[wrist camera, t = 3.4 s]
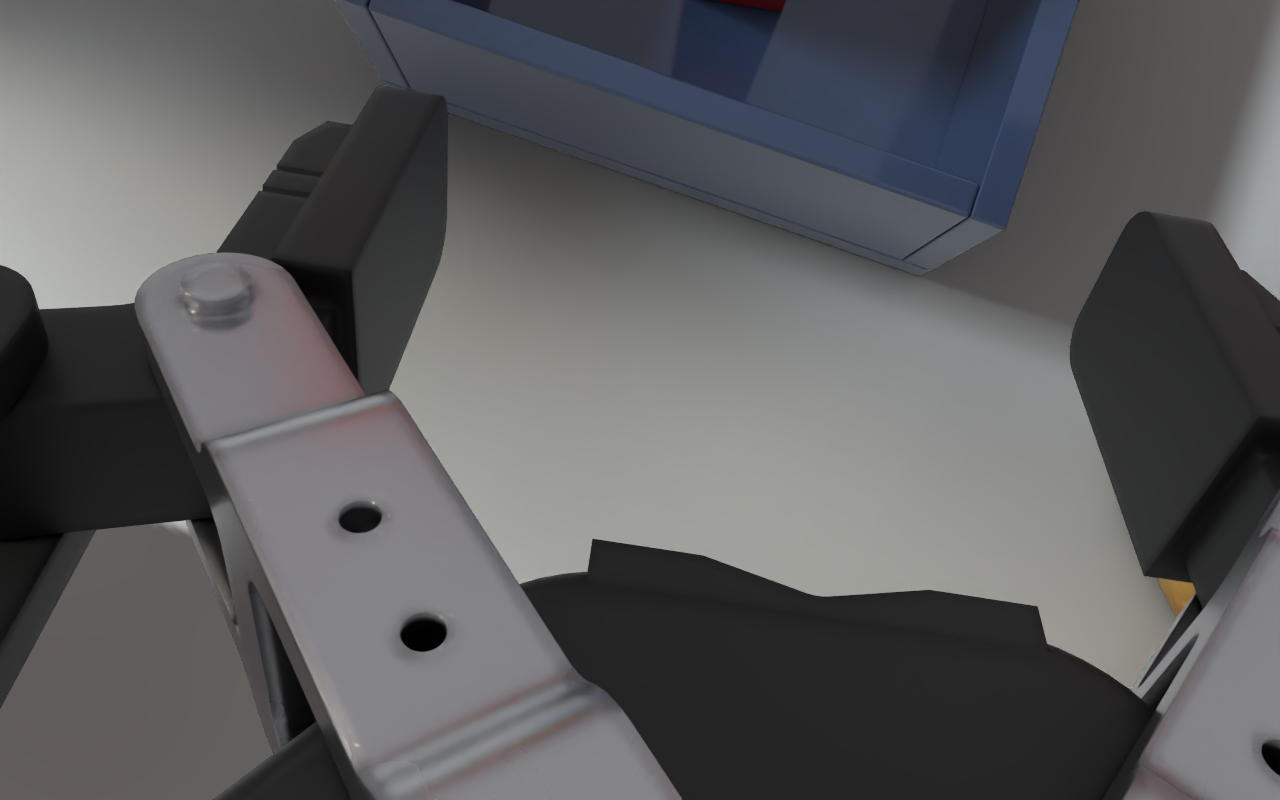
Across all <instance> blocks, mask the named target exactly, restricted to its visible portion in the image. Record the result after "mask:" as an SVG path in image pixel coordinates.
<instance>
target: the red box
mask: <svg viewBox="0 0 1280 800" xmlns="http://www.w3.org/2000/svg"><path fill="white" fill-rule="evenodd" d="M713 1H719V2H725V3H731V4H737V5H743V6H749V7H755V8H760V9H766V10H772V11H778V12H781V11H782V10H783V8H784V6H785V3H786V1H787V0H713Z"/></svg>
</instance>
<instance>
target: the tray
mask: <svg viewBox="0 0 1280 800" xmlns="http://www.w3.org/2000/svg"><path fill="white" fill-rule="evenodd" d="M334 1H335V2H336V4H337V6H338V8H339V9H340V11H341V13H342V14H343V16H344V18H345V19H346V21H347V23H348V24H349V26H350V28H351V29H352V31H353V33H354V34H355V36H356V38H357V40H358V41H359V43H360V45H361V46H362V48H363V50H364V51H365V53H366V55H367V56H368V58H369V60H370V61H371V63H372V65H373V66H374V68H375V70H376V72H377V73H378V75H379V77H380V78H381V79H382V81H383V82H384V84H385V86H386V87H392V88H398V89H404V90H410V91H416V92H422V93H429V94H435V95H441V96H444V97H445V99H446V103H447V111H448V113H450V114H453V115H456V116H459V117H462V118H465V119H468V120H470V121H473V122H476V123H479V124H482V125H485V126H488V127H491V128H493V129H496V130H499V131H502V132H505V133H508V134H511V135H514V136H517V137H519V138H522V139H525V140H528V141H531V142H534V143H537V144H540V145H543V146H545V147H548V148H551V149H554V150H557V151H560V152H563V153H566V154H568V155H571V156H574V157H577V158H580V159H583V160H586V161H589V162H592V163H594V164H597V165H600V166H603V167H606V168H609V169H612V170H615V171H617V172H620V173H623V174H626V175H629V176H632V177H635V178H638V179H641V180H643V181H646V182H649V183H652V184H655V185H658V186H661V187H664V188H667V189H669V190H672V191H675V192H678V193H681V194H684V195H687V196H690V197H692V198H695V199H698V200H701V201H704V202H707V203H710V204H713V205H716V206H718V207H721V208H724V209H727V210H730V211H733V212H736V213H739V214H742V215H744V216H747V217H750V218H753V219H756V220H759V221H762V222H765V223H767V224H770V225H773V226H776V227H779V228H782V229H785V230H788V231H791V232H793V233H796V234H799V235H802V236H805V237H808V238H811V239H814V240H816V241H819V242H822V243H825V244H828V245H831V246H834V247H837V248H840V249H842V250H845V251H848V252H851V253H854V254H857V255H860V256H863V257H866V258H868V259H871V260H874V261H877V262H880V263H883V264H886V265H889V266H891V267H894V268H897V269H900V270H903V271H906V272H909V273H912V274H915V275H917V276H921V275H923V274H924V273H926V272H928V271H930V270H933V269H935V268H937V267H938V266H940V265H942V264H944V263H946V262H947V261H949V260H951V259H953V258H955V257H956V256H958V255H960V254H962V253H964V252H965V251H967V250H969V249H971V248H973V247H974V246H976V245H978V244H980V243H982V242H983V241H985V240H987V239H989V238H991V237H992V236H994V235H996V234H998V233H1000V232H1001V231H1003V230H1005V229H1006V226H1007V222H1008V219H1009V216H1010V213H1011V210H1012V207H1013V204H1014V201H1015V198H1016V195H1017V192H1018V188H1019V185H1020V182H1021V179H1022V176H1023V173H1024V170H1025V167H1026V164H1027V161H1028V157H1029V154H1030V151H1031V148H1032V145H1033V142H1034V139H1035V136H1036V133H1037V130H1038V127H1039V123H1040V120H1041V117H1042V114H1043V111H1044V108H1045V105H1046V102H1047V99H1048V96H1049V93H1050V89H1051V86H1052V83H1053V80H1054V77H1055V74H1056V71H1057V68H1058V65H1059V62H1060V58H1061V55H1062V52H1063V49H1064V46H1065V43H1066V40H1067V37H1068V34H1069V31H1070V28H1071V24H1072V21H1073V18H1074V15H1075V12H1076V9H1077V6H1078V3H1079V0H787V1H786V3H785V6H784V8H783V10H782V11H781V12H778V11H772V10H766V9H760V8H755V7H749V6H743V5H737V4H731V3H725V2H719V1H713V0H334Z"/></svg>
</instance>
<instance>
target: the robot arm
mask: <svg viewBox="0 0 1280 800" xmlns="http://www.w3.org/2000/svg"><path fill="white" fill-rule="evenodd" d="M447 150H448V111H447V103H446V99H445V97H444V96H441V95H435V94H429V93H422V92H416V91H410V90H404V89H398V88H392V87H385V86H378V87H377V88H376V89H375V91H374V92H373V94H372V95H371V97H370V99H369V100H368V102H367V104H366V105H365V107H364V108H363V110H362V112H361V113H360V115H359V116H358V118H357V120H356V121H355V123H354V125H349V124H342V123H336V122H330V121H327V122H325V123H324V124H322V125H320V126H318V127H317V128H315V129H313V130H311V131H309V132H308V133H306V134H304V135H302V136H301V137H299V138H297V139H295V140H294V141H293V143H292V144H291V146H290V147H289V148H288V150H287V151H286V153H285V154H284V156H283V157H282V159H281V160H280V161H279V163H278V164H277V170H273V172H272V173H271V174H270V176H269V177H268V179H267V180H266V182H265V183H264V184H263V190H262V191H259V192H258V193H257V195H256V196H255V197H254V199H253V200H252V202H251V203H250V205H249V206H248V208H247V209H246V210H245V212H244V213H243V215H242V216H241V218H240V219H239V221H238V222H237V223H236V225H235V226H234V228H233V229H232V231H231V232H230V234H229V235H228V236H227V238H226V239H225V241H224V242H223V244H222V245H221V247H220V248H219V249H218V251H217V252H216V253H209V254H202V255H196V256H192V257H188V258H184V259H181V260H179V261H176V262H173V263H171V264H169V265H167V266H165V267H163V268H161V269H159V270H158V271H156V272H155V273H154V274H152V275H151V276H150V277H149V278H148V279H147V280H146V281H144V282H143V284H142V285H141V287H140V288H139V290H138V292H137V294H136V297H135V303H131V304H125V305H115V306H100V307H80V308H61V309H41V310H39V308H38V304H37V301H36V298H35V295H34V292H33V289H32V287H31V285H30V283H29V282H28V281H27V280H26V278H24V277H23V276H22V275H20V274H19V273H18V272H16V271H14V270H12V269H10V268H8V267H4V266H1V265H0V708H1V706H2V704H3V703H4V701H5V699H6V697H7V695H8V693H9V691H10V690H11V688H12V686H13V684H14V682H15V680H16V678H17V676H18V675H19V673H20V671H21V669H22V667H23V665H24V664H25V662H26V660H27V658H28V656H29V654H30V652H31V650H32V649H33V647H34V645H35V643H36V641H37V639H38V637H39V636H40V634H41V632H42V630H43V628H44V626H45V624H46V623H47V621H48V619H49V617H50V615H51V613H52V611H53V609H54V608H55V606H56V604H57V602H58V600H59V598H60V596H61V595H62V593H63V591H64V589H65V587H66V585H67V583H68V582H69V580H70V578H71V576H72V574H73V572H74V570H75V569H76V567H77V565H78V563H79V561H80V559H81V557H82V556H83V553H84V551H85V550H86V548H87V546H88V544H89V542H90V541H91V539H92V537H93V535H94V533H95V531H96V530H97V529H107V528H115V527H126V526H135V525H144V524H154V523H164V522H173V521H183V520H186V524H187V527H188V529H189V531H190V534H191V536H192V539H193V541H194V544H195V546H196V549H197V551H198V553H199V556H200V558H201V561H202V563H203V566H204V568H205V571H206V573H207V575H208V578H209V580H210V583H211V585H212V588H213V590H214V592H215V595H216V597H217V600H218V602H219V605H220V607H221V610H222V612H223V615H224V617H225V619H226V622H227V624H228V627H229V629H230V632H231V634H232V637H233V639H234V641H235V644H236V646H237V649H238V651H239V654H240V657H241V659H242V662H243V665H244V668H245V671H246V674H247V677H248V680H249V683H250V687H251V690H252V694H253V697H254V700H255V703H256V707H257V710H258V713H259V716H260V718H261V721H262V724H263V727H264V730H265V733H266V735H267V738H268V741H269V743H270V746H271V749H272V751H273V755H272V756H270V757H269V758H268V759H266V760H265V761H264V762H262V763H261V764H260V765H258V766H257V767H256V768H254V769H253V770H252V771H251V772H249V773H248V774H246V775H245V776H244V777H242V778H241V779H240V780H238V781H237V782H236V783H235V784H233V785H232V786H231V787H230V788H228V789H227V790H225V791H224V792H223V793H221V794H220V795H219V796H217V797H216V798H215V799H213V800H1280V302H1279V300H1278V299H1277V298H1276V297H1274V296H1273V295H1272V294H1271V293H1270V292H1269V291H1267V290H1266V289H1265V288H1264V287H1263V286H1262V285H1260V284H1259V283H1258V282H1257V281H1256V280H1255V279H1253V278H1252V277H1251V276H1250V275H1249V274H1248V273H1247V272H1245V271H1244V270H1240V268H1239V266H1238V265H1237V263H1236V262H1235V260H1234V258H1233V257H1232V255H1231V253H1230V252H1229V250H1228V248H1227V247H1226V245H1225V243H1224V242H1223V240H1222V238H1221V237H1220V235H1219V233H1218V232H1217V230H1216V229H1215V227H1214V226H1213V225H1212V224H1211V223H1210V222H1207V221H1202V220H1195V219H1189V218H1183V217H1177V216H1171V215H1165V214H1158V213H1152V212H1146V211H1144V212H1140V213H1138V214H1136V215H1135V216H1134V217H1133V218H1132V219H1131V220H1130V221H1129V222H1128V224H1127V225H1126V226H1125V228H1124V230H1123V231H1122V233H1121V235H1120V237H1119V239H1118V241H1117V243H1116V245H1115V247H1114V249H1113V251H1112V253H1111V255H1110V256H1109V258H1108V260H1107V262H1106V264H1105V266H1104V268H1103V270H1102V272H1101V274H1100V276H1099V278H1098V280H1097V281H1096V283H1095V285H1094V287H1093V289H1092V291H1091V293H1090V295H1089V297H1088V299H1087V301H1086V303H1085V305H1084V306H1083V308H1082V310H1081V312H1080V314H1079V316H1078V318H1077V321H1076V323H1075V326H1074V330H1073V333H1072V338H1071V344H1070V364H1071V368H1072V372H1073V375H1074V378H1075V380H1076V383H1077V386H1078V389H1079V392H1080V395H1081V397H1082V400H1083V403H1084V406H1085V409H1086V412H1087V415H1088V417H1089V420H1090V423H1091V426H1092V429H1093V432H1094V435H1095V437H1096V440H1097V443H1098V446H1099V449H1100V452H1101V455H1102V457H1103V460H1104V463H1105V466H1106V469H1107V472H1108V474H1109V477H1110V480H1111V483H1112V486H1113V489H1114V492H1115V494H1116V497H1117V500H1118V503H1119V506H1120V509H1121V512H1122V514H1123V517H1124V520H1125V523H1126V526H1127V529H1128V532H1129V534H1130V537H1131V540H1132V543H1133V546H1134V549H1135V551H1136V554H1137V557H1138V560H1139V563H1140V566H1141V569H1142V571H1143V574H1144V576H1149V577H1155V578H1162V579H1168V580H1175V581H1181V582H1188V583H1193V586H1194V588H1195V591H1196V593H1195V594H1194V595H1193V596H1192V598H1191V599H1190V600H1189V602H1188V603H1187V604H1186V605H1185V607H1184V608H1183V609H1182V610H1181V612H1180V613H1179V614H1178V616H1177V618H1176V619H1175V621H1174V622H1173V624H1172V625H1171V627H1170V629H1169V630H1168V632H1167V633H1166V635H1165V637H1164V638H1163V640H1162V641H1161V643H1160V645H1159V646H1158V648H1157V649H1156V651H1155V652H1154V654H1153V656H1152V657H1151V659H1150V660H1149V662H1148V664H1147V665H1146V667H1145V668H1144V670H1143V672H1142V673H1141V675H1140V676H1139V678H1138V679H1137V681H1136V683H1135V684H1134V686H1133V687H1132V689H1131V690H1130V689H1128V688H1127V687H1125V686H1124V685H1123V684H1121V683H1120V682H1118V681H1117V680H1115V679H1114V678H1113V677H1111V676H1110V675H1108V674H1107V673H1105V672H1103V671H1101V670H1100V669H1098V668H1096V667H1095V666H1093V665H1091V664H1089V663H1088V662H1086V661H1084V660H1082V659H1080V658H1078V657H1076V656H1074V655H1072V654H1070V653H1068V652H1066V651H1063V650H1061V649H1059V648H1057V647H1054V646H1052V645H1049V644H1047V642H1046V638H1045V634H1044V630H1043V626H1042V622H1041V618H1040V614H1039V610H1038V606H1031V605H1025V604H1018V603H1012V602H1005V601H998V600H992V599H985V598H979V597H972V596H966V595H959V594H952V593H946V592H939V591H933V590H922V591H907V592H892V593H877V594H863V595H848V596H833V597H821V596H814V595H810V594H807V593H804V592H801V591H798V590H796V589H793V588H790V587H787V586H785V585H782V584H779V583H777V582H774V581H771V580H768V579H766V578H763V577H760V576H757V575H755V574H752V573H749V572H746V571H744V570H741V569H738V568H735V567H733V566H730V565H727V564H725V563H722V562H719V561H716V560H714V559H711V558H708V557H705V556H702V555H696V554H689V553H683V552H676V551H669V550H663V549H656V548H650V547H643V546H636V545H630V544H623V543H617V542H610V541H604V540H597V539H593V540H592V546H591V553H590V559H589V566H588V572H579V573H567V574H561V575H555V576H549V577H544V578H539V579H535V580H532V581H529V582H525V583H522V584H519V583H518V582H517V580H516V579H515V577H514V576H513V574H512V573H511V571H510V569H509V568H508V566H507V565H506V563H505V562H504V560H503V559H502V557H501V556H500V554H499V552H498V551H497V549H496V548H495V546H494V545H493V543H492V542H491V540H490V538H489V537H488V535H487V534H486V532H485V531H484V529H483V528H482V526H481V524H480V523H479V521H478V520H477V518H476V517H475V515H474V514H473V512H472V511H471V509H470V507H469V506H468V504H467V503H466V501H465V500H464V498H463V497H462V495H461V493H460V492H459V490H458V489H457V487H456V486H455V484H454V483H453V481H452V480H451V478H450V476H449V475H448V473H447V472H446V470H445V469H444V467H443V466H442V464H441V462H440V461H439V459H438V458H437V456H436V455H435V453H434V452H433V450H432V449H431V447H430V445H429V444H428V442H427V441H426V439H425V438H424V436H423V435H422V433H421V431H420V430H419V428H418V427H417V425H416V424H415V422H414V421H413V419H412V417H411V416H410V414H409V413H408V411H407V410H406V408H405V407H404V405H403V404H402V402H401V401H400V400H399V398H398V397H397V396H396V395H395V394H394V393H392V392H391V391H389V388H390V385H391V383H392V380H393V378H394V375H395V373H396V370H397V368H398V365H399V363H400V360H401V358H402V355H403V353H404V350H405V348H406V346H407V343H408V341H409V338H410V336H411V333H412V331H413V328H414V326H415V323H416V321H417V318H418V316H419V313H420V311H421V308H422V306H423V303H424V301H425V298H426V296H427V293H428V291H429V288H430V286H431V283H432V281H433V278H434V276H435V273H436V271H437V268H438V265H439V262H440V259H441V255H442V250H443V245H444V239H445V232H446V220H447Z"/></svg>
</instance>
